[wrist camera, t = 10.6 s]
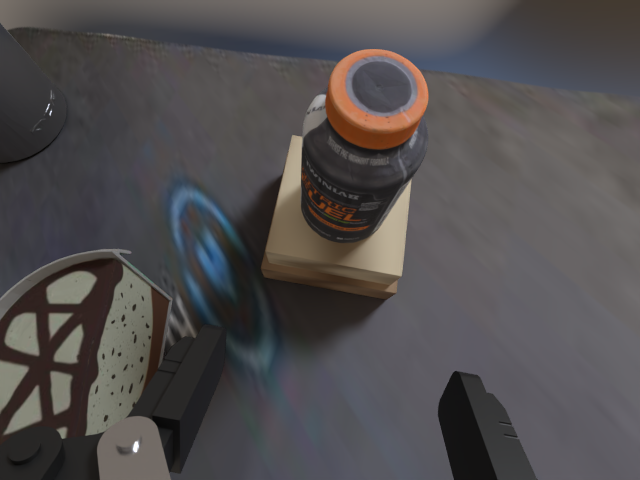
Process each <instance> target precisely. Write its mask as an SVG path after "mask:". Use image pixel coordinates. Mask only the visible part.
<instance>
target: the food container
mask: <svg viewBox="0 0 640 480" xmlns="http://www.w3.org/2000/svg"><path fill="white" fill-rule="evenodd" d="M119 254H131V251H127V250H122V249H102V250H95V251H89V252H84V253H78V254H74V255H71V256H68V257H65V258H61V259H58V260H56V261H54V262H52V263H50V264H47V265H45V266H43V267H41V268H39V269H38V270H36V271H34V272H33V273H31V274H30V275H28V276H26V277H25V278H23V279H22V280H21V281H20V282H18V283H17V284H16V285H15V286H13V287H12V288H11V289H9V290H8V291H7V292H6V293H5V294H4V295H3V296H2V297H1V298H0V445H1V444H2V443H3V442H4V441H6V440H7V439H8V438H10V437H11V436H13V435H15V434H17V433H19V432H21V431H23V430H26V429H29V428H33V427H39V426H47V427H51V428H54V429H56V430H57V431H58V432H59V433H60V435H61V438H62V439H64V438H71V437H79V436H87V435H93V434H98V433H101V432H104V431H106V430H107V429H108V428H109V427H111V426H112V425H113V424H115V423H116V422H118V421H120V420H122V419H125V418H126V417H127V416H128V415H129V413H130V412H131V410H132V409H133V407H134V406H135V404H136V402H137V401H138V399H139V398H140V396H141V395H142V393H143V391H144V390H145V388H146V387H147V385H148V383H149V382H150V380H151V379H152V377H153V376H154V374H155V372H157V369H158V368H159V366H160V364H161V363H162V360H163V354H164V348H165V342H166V336H167V330H168V324H169V318H170V312H171V306H172V300H173V299H172V298H171V297H170V296H169V295H168V294H166V293H165V292H164V291H163V290H162V289H160V288H159V287H158V286H157V285H155V284H154V283H153V282H152V281H151V280H149V279H148V278H147V277H146V276H145V275H143V274H142V273H141V272H140V271H139V270H137V269H136V268H135V267H134V266H133V265H131V264H130V263H129V262H128V261H127V260H125V259H124V258H123V257H122V256H121V255H119Z"/></svg>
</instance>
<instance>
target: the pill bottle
mask: <svg viewBox="0 0 640 480" xmlns="http://www.w3.org/2000/svg"><path fill="white" fill-rule="evenodd" d="M427 103H428V89H427V85H426V82H425V79H424V77H423V76H422V74H421V72H420V71H419V70H418V68H417V67H416V66H414V65H413V64H412V63H411V62H410V61H409V60H407V59H405V58H404V57H402V56H400V55H398V54H396V53H393V52H390V51H386V50H379V49H366V50H361V51H357V52H355V53H352V54H350V55H348V56H347V57H345V58H344V59H342V60H341V61H340V62H339V63H338V64H337V65H336V67H335V68H334V70H333V72H332V74H331V76H330V79H329V84H328V87H327V88H326V89H324V90H323V91H321V92H320V93H319V94H318V95H317V96H316V97H315V99H314V100H313V102H312V103H311V105H310V106H309V108H308V110H307V113H306V116H305V119H304V124H303V137H302V158H301V160H302V161H301V196H300V203H301V211H302V214H303V216H304V219H305V220H306V222H307V224H308V225H309V226H310V228H311V229H312V230H313V231H315V232H316V233H317V234H318V235H319V236H321V237H323V238H325V239H327V240H330V241H333V242H337V243H354V242H358V241H361V240H364V239H366V238H368V237H369V236H371V235H372V234H374V233H375V232H376V231H377V230H378V229H379V227H380V226H381V225H382V223H383V222H384V220H385V218H386V217H387V216H388V214H389V212H390V211H391V209H392V208H393V206H394V205H395V203H396V202H397V200H398V199H399V197H400V196H401V194H402V193H403V191H404V189H405V188H406V187H407V185H408V183H409V182H410V180H411V179H412V177H413V176H414V174H415V173H416V171H417V170H418V168H419V167H420V165H421V163H422V161H423V159H424V156H425V154H426V150H427V146H428V130H427V124H426V121H425V118H424V115H423V114H424V112H425V110H426V106H427Z"/></svg>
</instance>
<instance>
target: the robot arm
mask: <svg viewBox="0 0 640 480" xmlns="http://www.w3.org/2000/svg"><path fill="white" fill-rule="evenodd" d="M66 114H67V106H66V101H65V99H64V97H63V95H62V93H61V92H60V90H59V89H58V88H57V87H56V86H55V85H54V84H53V83H52V81H51V80H50V79H49V78H48V77H47V76H46V75H45V73H44V72H43V71H42V70H41V69H40V68H39V67H38V65H37V64H36V63H35V62H34V61H33V60H32V59H31V57H30V56H29V55H28V54H27V53H26V51H25V50H24V49H23V48H22V47H21V46H20V45H19V44H18V42H17V41H16V40H15V39H14V38H13V37H12V36H11V35H10V33H9V32H8V31H7V30H6V29H5V28H4V27H3V26H2V25H1V23H0V163H6V162H12V161H18V160H21V159H24V158H27V157H29V156H31V155H33V154H35V153H37V152H39V151H41V150H42V149H43V148H45V147H46V146H47V145H49V144H50V143H51V142H52V141H53V140H54V139H55V138H56V137H57V135H58V134H59V132H60V131H61V129H62V127H63V125H64V122H65V119H66ZM225 345H226V328H224V327H218V326H213V325H207V324H204V325H203V326H202V328H201V330H200V331H199V333H198V335H197V337H196V338H191V337H184V338H182V339H181V340H180V341H178V342H177V343H176V344H174V345H173V346H172V347H171V349H170V350H169V352H168V353H167V355H166V357H165V358H164V361H162V363H161V364H160V366H159V368H158V369H157V372H155V374H154V376H153V377H152V379H151V380H150V382H149V383H148V385H147V387H146V388H145V390H144V391H143V393H142V395H141V396H140V398H139V399H138V401H137V402H136V404H135V406H134V407H133V409H132V410H131V412H130V413H129V415H128V416H127V417H126V418H125V419H122V420H120V421H118V422H116V423H115V424H113V425H112V426H111V427H109V428H108V429H107V430H106V431H104V432H101V433H98V434H93V435H87V436H79V437H71V438H64V439H62V438H61V435H60V433H59V432H58V431H57V430H56V429H54V428H51V427H47V426H39V427H33V428H29V429H26V430H23V431H21V432H19V433H17V434H15V435H13V436H11V437H10V438H8V439H7V440H6V441H4V442H3V443H2V444H1V445H0V480H171V478H170V475H169V473H170V472H175V473H180V474H181V471H182V469H183V466H184V464H185V462H186V459H187V457H188V454H189V452H190V449H191V447H192V445H193V442H194V440H195V437H196V435H197V433H198V430H199V428H200V425H201V423H202V420H203V418H204V416H205V413H206V411H207V408H208V406H209V404H210V401H211V399H212V396H213V394H214V391H215V389H216V387H217V384H218V382H219V379H220V377H221V374H222V370H223V366H224V360H225ZM438 417H439V422H440V426H441V430H442V434H443V438H444V442H445V446H446V450H447V454H448V458H449V462H450V466H451V470H452V474H453V478H454V480H537V478H536V476H535V474H534V472H533V470H532V467H531V465H530V463H529V461H528V458H527V456H526V454H525V452H524V450H523V447H522V445H521V443H520V441H519V439H517V434H516V432H515V430H514V428H513V427H512V426H511V424H512V423H511V421H510V419H509V417H508V414H507V412H506V410H505V408H504V407H503V406H502V404H501V403H500V402H499V401H498V400H497V398H496V397H495V396H494V395H493V394H490V393H486V390H485V388H484V385H483V383H482V381H481V379H480V377H479V376H478V375H474V374H469V373H463V372H458V371H455V372H453V374H452V376H451V378H450V380H449V382H448V384H447V386H446V388H445V390H444V393H443V395H442V397H441V399H440V402H439V406H438Z"/></svg>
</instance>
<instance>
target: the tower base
mask: <svg viewBox="0 0 640 480" xmlns="http://www.w3.org/2000/svg"><path fill="white" fill-rule="evenodd" d="M301 158H302V137H299V136H294V135H292V140H291V144H290V148H289V151H288V154H287V158H286V162H285V167H284V171H283V175H282V179H281V184H280V188H279V192H278V197H277V201H276V205H275V209H274V214H273V218H272V222H271V227H270V231H269V235H268V239H267V244H266V248H265V252H264V256H263V261H262V265H261V270H262V273H263V275H264V277H266V278H271V279H277V280H282V281H288V282H293V283H299V284H304V285H309V286H315V287H320V288H326V289H331V290H337V291H342V292H348V293H353V294H359V295H364V296H370V297H375V298H380V299H386V300H387V299H388V298H390V297H391V296H393V295H394V294H396V292H397V282H398V279H399V278H400V277H401V276H402V269H403V259H404V249H405V239H406V229H407V219H408V209H409V199H410V189H411V180H410V182H409V183H408V185H407V187H406V188H405V189H404V191H403V193H402V194H401V196H400V197H399V199H398V200H397V202H396V203H395V205H394V206H393V208H392V209H391V211H390V212H389V214H388V216H387V217H386V218H385V220H384V222H383V223H382V225H381V226H380V227H379V229H378V230H377V231H376V232H375V233H374V234H372V235H371V236H369V237H368V238H366V239H364V240H361V241H358V242H354V243H337V242H333V241H330V240H327V239H325V238H323V237H321V236H319V235H318V234H317V233H316V232H315V231H313V230H312V229H311V228H310V226H309V225H308V224H307V222H306V220H305V219H304V216H303V214H302V211H301V203H300V196H301V161H302V160H301Z"/></svg>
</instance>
